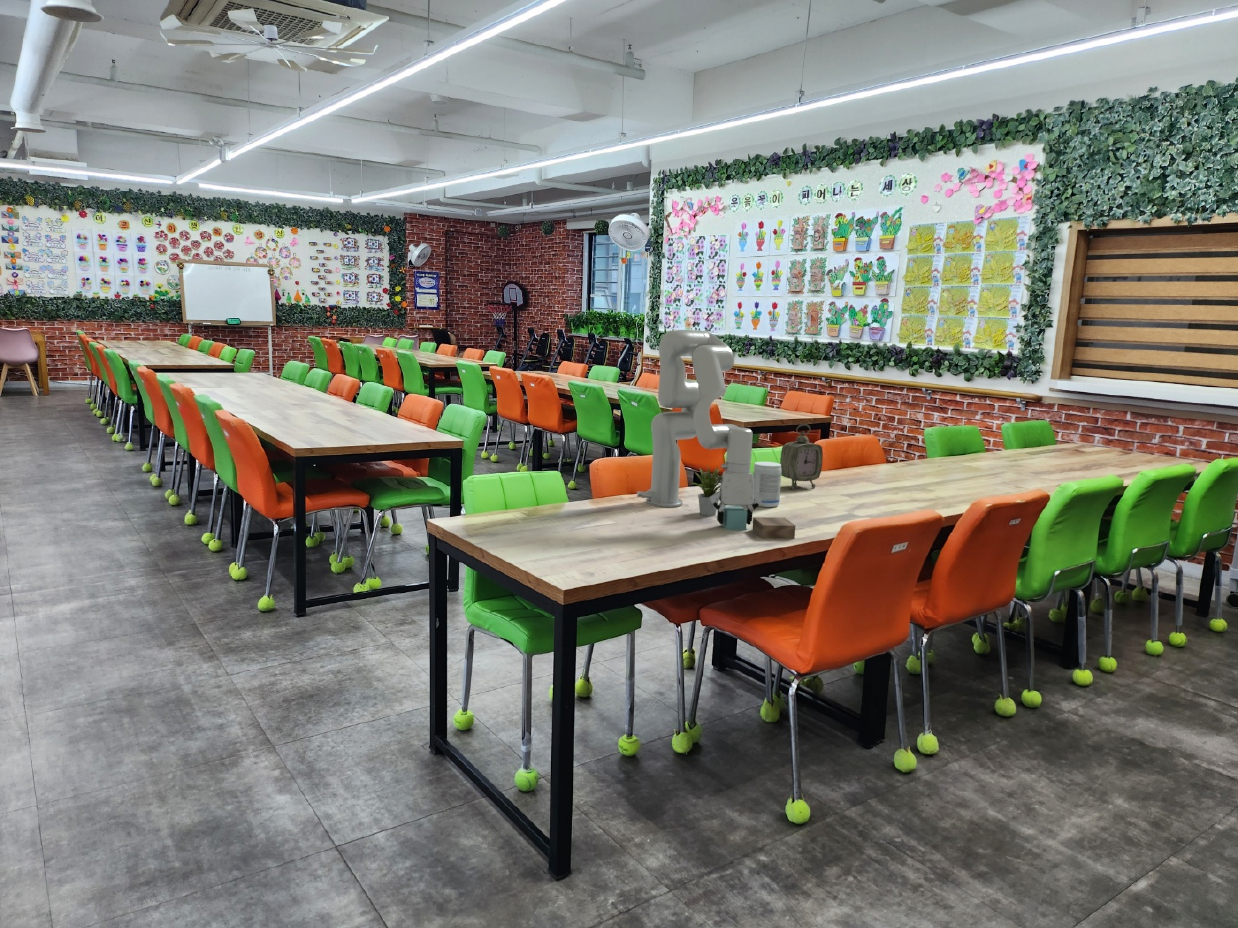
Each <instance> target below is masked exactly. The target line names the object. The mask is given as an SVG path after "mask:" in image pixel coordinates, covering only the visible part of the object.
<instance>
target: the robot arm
mask: <svg viewBox="0 0 1238 928" xmlns="http://www.w3.org/2000/svg"><path fill="white" fill-rule="evenodd" d="M658 347H659V348H658V354H659V362H660V363H659V365H660V366H659V367H660V369H659V380H658V394H657V399H658V403H659V405H660V406H661V407H662V408H665V409H681V411H664V412H660V413H658V414H656V415H655V416H653V418H652V420H651V424H650V428H651V429H650V430H651V435H652V463H651V464H652V465H651V481H650V483H651V485H650V488H649V489H648V490H646V491H637V492H636V496H637V498H642V499H645V503H646V504H647V505H649V506H653V507H661V508H676V507H680V506H683V502H684V501H683V499H681V498H679V492H680V490H679V489H680V476H681V475H680V473H681V459H682V458H681V457H682V456H681V449H680V447H679V444H678V443H677V441H679V440H690V439H695V437H696V438H697V441H698V443H699V445H700V446H701V447H702V448H704V449H707V450H715V449H716V450H717V449H726V457H725V463H721V465H720V469H724V471H723V473H722V474H723V475H721V476H722V477H721V478H722V479H721V480H720V483H719V486H720V488H719V489H720V490H717V492H716V493H715V494H713V495H712V496H710V497H709V499H710V501H711V503H712V504H713V506H714V507H715V508H716V509H717V513H716V514H717V516H716V520H717V521H718V523H719V524H720V525H722V524H723V520H724V512H723V509H724V508H725V507H727V506H733V507H744V506H745V507H746V508H747V510H746V511H747V523H746V525H749V526H750V525H751V523H752V522H753V513H754V511H755V510H756V509H757V508H758V507H760V506H759V504H760V503H761V502H762V500H763V499H762V498H761V497H760V496H758V495H757V494H756V493H754V480H753V473H752V472H751V464H752V451H753V450H752V449H753V437H754V436H753V435H754V434H753V431H752V430H751V428H747V427H741V426H739V425H735V424H732V423H724V424H723V423H719V424H718V423H717V424H712V421H711V416H710V411H711V410H710V409H711V406H712V404H713V402H714V401H716V400H717V399H719V398H721V397H723V396H724V395H725V394H726V392H727V386H726V383H725V378H724V375H723V372H729V371H730V370H732V368H733V366H734V364H735V355H734V352H733V351H732V349H731V348H730V347H729V346H728V345H727V344H726V343H725V342H724V341H723V340H721V339H720V338H718V337H717V336H716V335H714V334H713V333H711V332H710V331H706V330H693V329H692V330H690V329H677V330H676V329H674V330H670V331H668V332H666V333H665V334H663V336H662V337H661V339H660V342H659V345H658ZM682 357H691V363H692V368H693V371H694V375H695V379H696V381H695V380H692V379H686V365H685V362H684V360H683V358H682ZM718 497H719V502H718V504H717V503H716V501H715V499H716V498H718ZM754 497H755V498H756V501H755V502H754ZM753 502H754V503H753Z"/></svg>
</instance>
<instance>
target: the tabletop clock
mask: <svg viewBox="0 0 1238 928" xmlns="http://www.w3.org/2000/svg"><path fill="white" fill-rule="evenodd" d="M804 426H805V427H807V428H808V431H807V432H805V431H801V432H798V429H799V428H800V427H804ZM795 431H796V432H795V433H797V434H798V436H797V437H796V439H795V441H789V442H787V443H785V444H783V445H782V447H781V451H780V457H779V464H781V477H784V478H786V479H791V485H790V486H789V488H790V490H794V489H795V487H797V485H798V483H797V482H810V484H811V486H810V487H811V488H812V489H815V487H816V484H815V483H814V482H813V481H816V480H818V479H819V478H820V475H821V473H822V467H823V458H824V457H823V456H824V453H823V447H822V445H820V444H817V443H813V442H810V440H809V438H808V436H807V435H808V434H810V432H811V426H810V425H809V424H806V423H802V424H799V425H798V426H797V427H796V429H795Z"/></svg>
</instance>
